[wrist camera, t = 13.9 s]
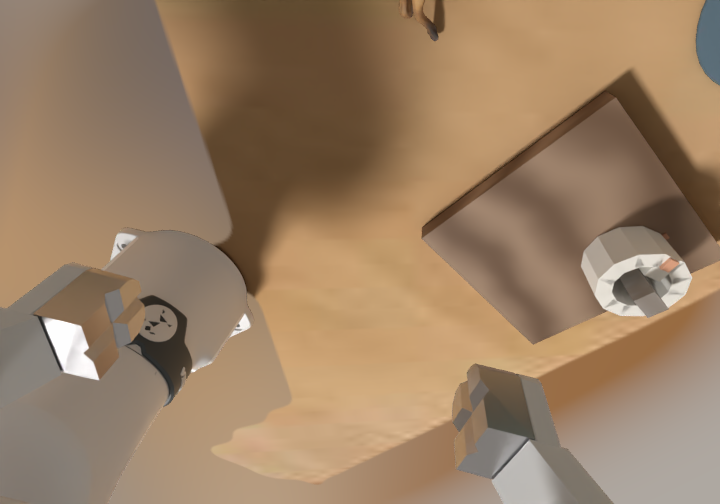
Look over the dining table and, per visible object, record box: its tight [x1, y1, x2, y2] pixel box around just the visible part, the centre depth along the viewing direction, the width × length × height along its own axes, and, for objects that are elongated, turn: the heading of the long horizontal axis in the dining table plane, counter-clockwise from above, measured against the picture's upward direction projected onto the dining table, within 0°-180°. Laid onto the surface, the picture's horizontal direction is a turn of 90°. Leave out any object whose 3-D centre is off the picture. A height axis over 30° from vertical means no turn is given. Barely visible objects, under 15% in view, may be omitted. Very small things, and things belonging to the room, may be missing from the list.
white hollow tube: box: [581, 226, 692, 316], centre depth 32 cm, size 6×6×4 cm
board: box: [422, 91, 720, 344], centre depth 32 cm, size 18×18×8 cm
